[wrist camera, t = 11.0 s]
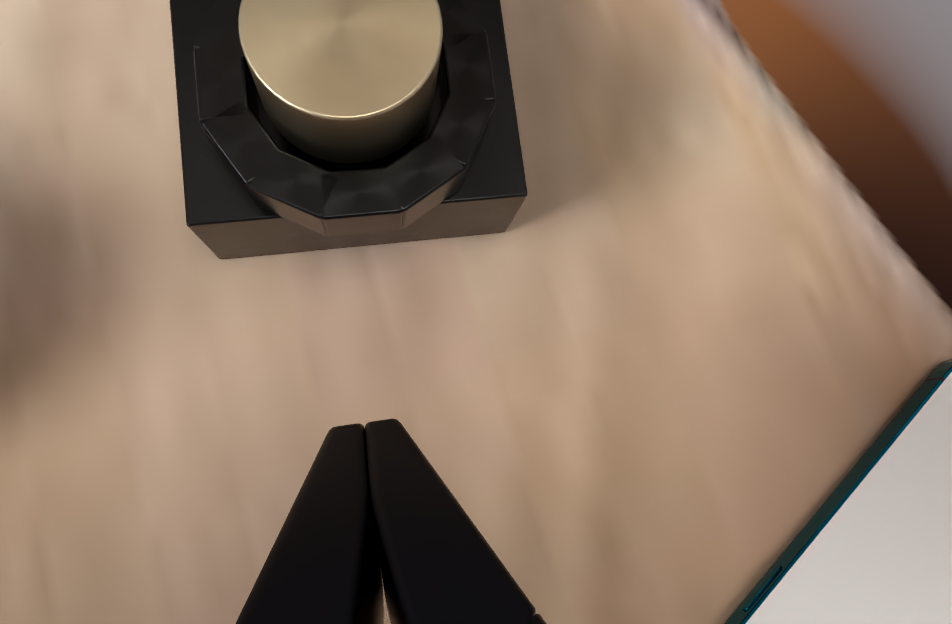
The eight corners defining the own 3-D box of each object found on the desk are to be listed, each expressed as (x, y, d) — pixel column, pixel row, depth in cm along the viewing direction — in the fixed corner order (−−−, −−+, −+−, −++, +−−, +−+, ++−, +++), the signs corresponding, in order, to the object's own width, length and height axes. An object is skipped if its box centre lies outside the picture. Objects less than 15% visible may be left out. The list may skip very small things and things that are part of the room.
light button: (444, 157, 19) (454, 112, 16) (267, 171, 18) (246, 126, 16) (424, -4, 20) (430, -73, 17) (251, 5, 19) (229, -65, 16)
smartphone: (947, 346, 25) (639, 718, 22) (968, 342, 25) (650, 730, 21) (1115, 514, 25) (830, 916, 22) (1143, 517, 24) (849, 937, 21)
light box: (508, 252, 24) (544, 199, 19) (221, 280, 23) (169, 233, 17) (463, -76, 26) (484, -214, 20) (192, -66, 25) (137, -209, 19)
